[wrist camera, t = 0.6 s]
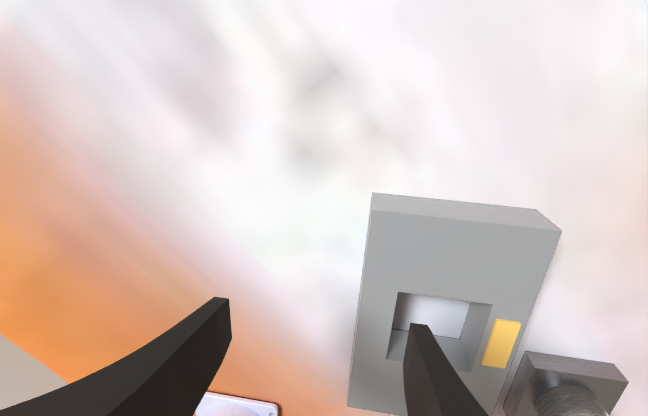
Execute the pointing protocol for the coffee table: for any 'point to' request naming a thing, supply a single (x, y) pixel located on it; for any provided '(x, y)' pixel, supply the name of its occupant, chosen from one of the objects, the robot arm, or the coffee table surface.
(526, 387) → the gray square base plate
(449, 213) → the hole board
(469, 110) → the coffee table surface
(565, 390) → the metal peg
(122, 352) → the coffee table surface
